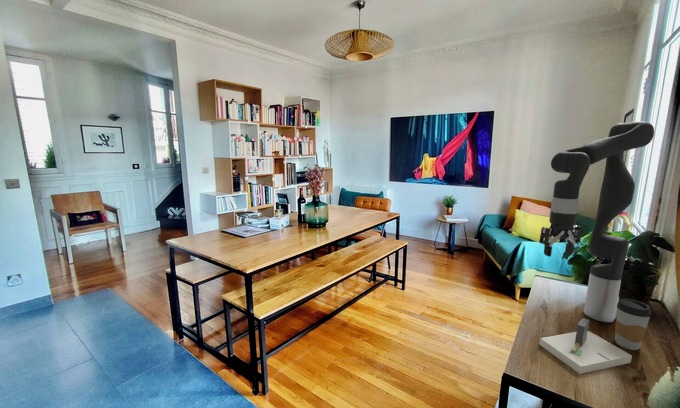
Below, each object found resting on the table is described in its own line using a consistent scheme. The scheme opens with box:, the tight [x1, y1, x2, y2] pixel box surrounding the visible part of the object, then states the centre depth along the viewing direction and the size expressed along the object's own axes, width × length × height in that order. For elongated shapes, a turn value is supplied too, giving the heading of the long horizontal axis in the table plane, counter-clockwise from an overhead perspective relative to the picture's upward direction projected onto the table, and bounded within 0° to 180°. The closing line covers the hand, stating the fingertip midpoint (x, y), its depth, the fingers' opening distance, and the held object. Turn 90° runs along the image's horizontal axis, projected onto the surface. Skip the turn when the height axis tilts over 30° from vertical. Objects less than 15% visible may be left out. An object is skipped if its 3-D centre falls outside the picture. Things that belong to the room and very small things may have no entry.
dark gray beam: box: [572, 317, 590, 352], centre depth 99 cm, size 2×11×7 cm, turn 130°
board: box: [539, 330, 633, 375], centre depth 99 cm, size 20×14×3 cm
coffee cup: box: [614, 298, 652, 351], centre depth 102 cm, size 8×8×15 cm
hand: (558, 254), depth 108 cm, fingers open, 8 cm apart
